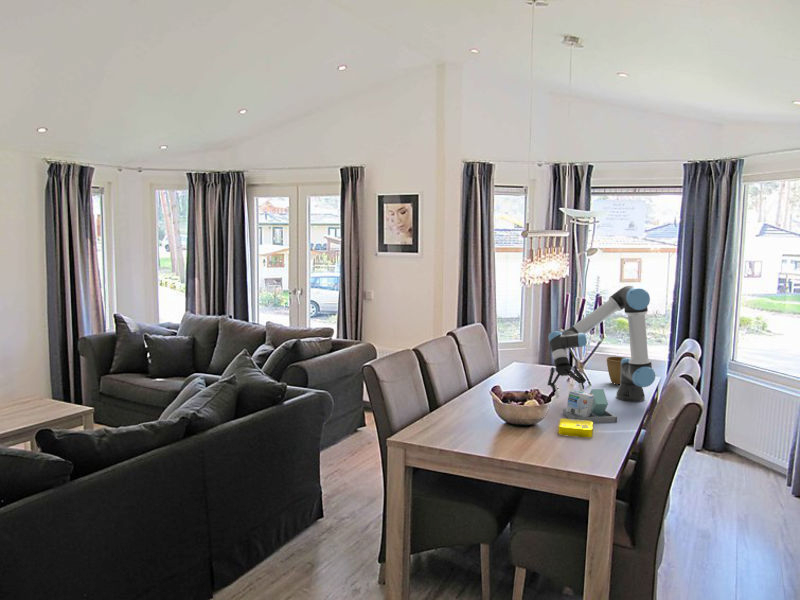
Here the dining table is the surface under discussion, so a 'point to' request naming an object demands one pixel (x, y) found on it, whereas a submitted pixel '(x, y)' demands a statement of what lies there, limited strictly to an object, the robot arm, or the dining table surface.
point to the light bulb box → (580, 403)
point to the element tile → (575, 427)
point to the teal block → (598, 401)
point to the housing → (592, 417)
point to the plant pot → (614, 368)
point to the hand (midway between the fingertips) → (570, 396)
